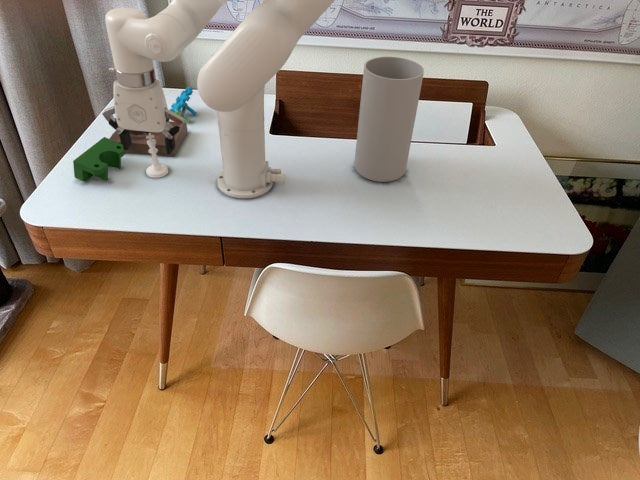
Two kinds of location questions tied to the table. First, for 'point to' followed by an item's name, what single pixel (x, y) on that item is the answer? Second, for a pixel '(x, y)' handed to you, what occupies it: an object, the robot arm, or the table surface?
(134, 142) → the pad
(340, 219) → the table surface
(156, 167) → the chess piece
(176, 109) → the blue slotted cogwheel
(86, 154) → the clamp
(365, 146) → the cylinder vase
